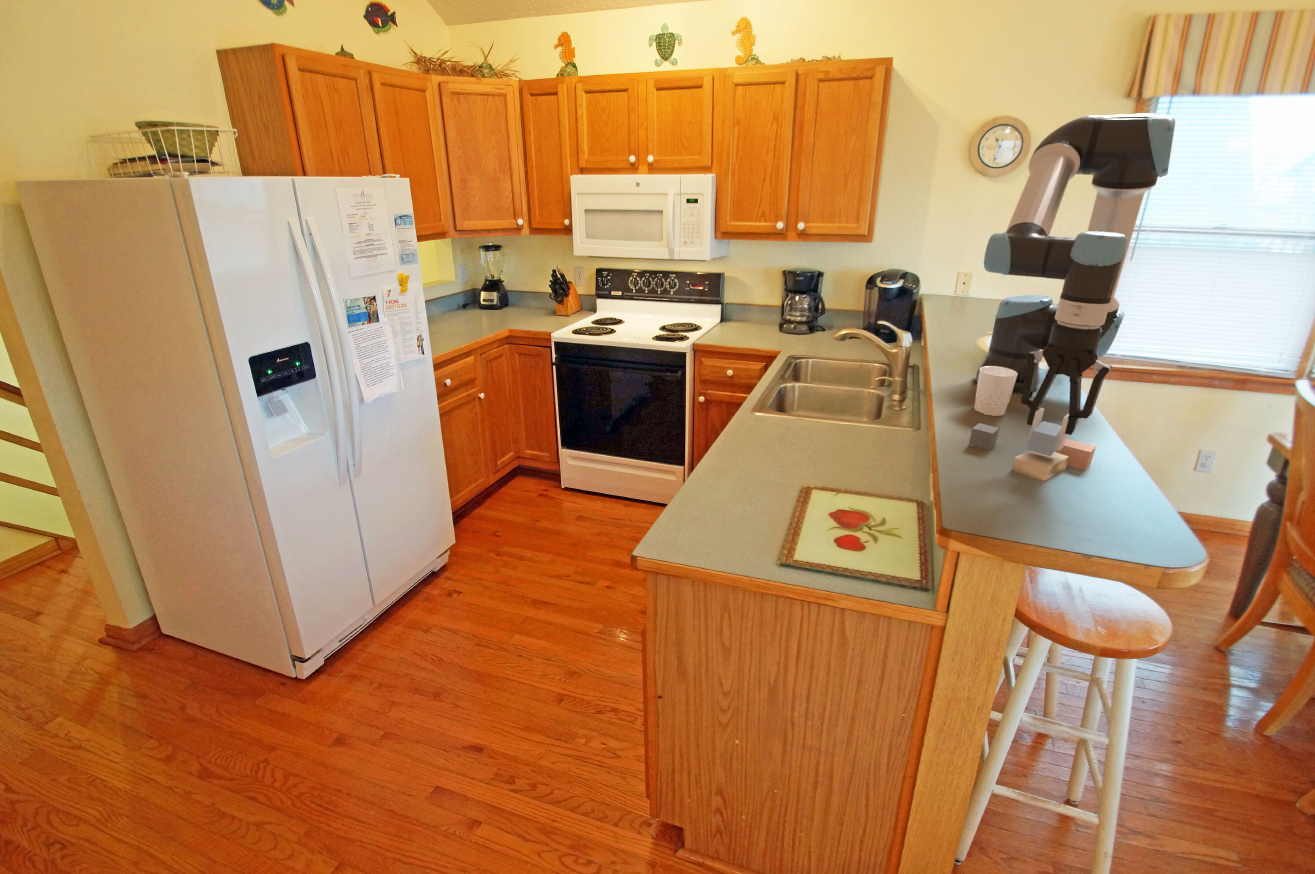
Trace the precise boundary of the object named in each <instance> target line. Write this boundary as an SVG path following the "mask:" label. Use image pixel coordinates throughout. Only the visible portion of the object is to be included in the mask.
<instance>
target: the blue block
mask: <svg viewBox="0 0 1315 874" xmlns="http://www.w3.org/2000/svg"><path fill="white" fill-rule="evenodd" d="M1061 425H1062V424H1061ZM1061 425H1060V424H1056V423H1054V422H1053V423H1052V422H1048V421H1045V420H1043V421H1041V423H1040V424H1039V425H1038V426H1037V427H1036V428H1034V429H1033V430H1032V433H1031V437H1030V440H1029V443H1027V448H1026V451H1028V450H1029V451H1033V452H1036V453H1040V454H1043V455H1047V456H1051V455H1052V454H1053V453H1054V452H1055V451H1056V450H1055V448H1056V444H1057V441H1058V437H1059V434H1060V429H1061Z"/></svg>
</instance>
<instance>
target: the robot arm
mask: <svg viewBox="0 0 1315 874" xmlns="http://www.w3.org/2000/svg"><path fill="white" fill-rule="evenodd" d="M1175 127H1176V119H1175V118H1174V117H1173V116H1172V115H1170V114H1158V113H1157V114H1156V113H1150V112H1149V113H1133V114H1108V115H1097V114H1095V115H1085V116H1081V117H1078V118H1074V119H1073V120H1071V121H1068V122H1066V123H1065V124H1063V125H1061V126H1059V127H1058V128H1057V129H1055V130H1054V131H1052V132H1050V133H1049V134H1048V135H1047V136H1046V137H1045V138H1043V140H1042V141H1041V142H1039V144H1038V146H1037V147H1036V148H1035V150H1034V151H1033V153H1032V155H1031V157H1030V159H1029V163H1028V173H1029V176H1028V178H1027V180H1026V183H1025V185H1024V187H1023V189H1022V192H1021V195H1020V196H1019V199H1018V202H1017V203H1016V204H1017V205H1015V209H1014V211H1013V213H1012V217H1011V219H1010V222H1009V223H1008V226H1007V229H1006V231H1005V232H1002V233H1001V232H1000V233H997V232H995V233H993V234H992V235H990V237H989V239H988V242H987V245H986V248H985V251H984V259H983V268H984V269H985V271H986V272H988V273H992V274H993V273H995V274H1000V275H1003V276H1019V277H1032V278H1045V279H1054V280H1055V279H1056V280H1062V281H1063V280H1064V281H1063V286H1062V290H1061V294H1060V296H1059V300H1058V303H1053V302H1054V300H1053V297H1051V296H1048V295H1039V294H1038V295H1036V294H1035V295H1034V294H1033V295H1032V294H1029V295H1028V294H1025V295H1024V294H1023V295H1015V296H1009V297H1006V298H1004V299H1002V300H1001V301H1000V303H999V304H998V307H997V311H996V314H995V316H994V318H995V321H994V324H993V330H992V334H991V338H990V343H989V347H988V352H987V354H986V355H985V357H984V359H983V360H982V362H981V364H980V365H979V367H978V368H977V370H976V373H975V378H974V380H975V382H976V383H978V378H979V371H980V368H981V367H985V366H997V367H1004V368H1008V369H1011V370H1014V371H1016V372H1017V373H1018V374H1017V377H1016V381H1015V384H1014V388H1013V391H1012V394H1013V393H1014V394H1015V393H1016V394H1021V397H1020V403H1021V404H1022V405H1026V406H1027V407H1028V408H1029V413H1028V416H1027V419H1026V424H1027V425H1029V426H1031V428H1030V432H1029V437H1028V439H1027V444H1029V440H1030V437H1031V433H1032V430H1033V429H1034V428H1036V427H1037V426H1038V425H1039V424H1040V423H1041V422H1042V419H1043V415H1044V411H1045V408H1044V407H1041V406H1042V404H1043V402H1044V400H1045V398H1046V396H1047V394H1048V392H1049V390H1050V389H1051V386H1052V385H1053V383H1054V381H1055V379H1056V377H1057V376H1058V375H1063V376H1066V377H1069V383H1070V384H1069V405H1068V406H1069V408H1068V413H1067V414H1066V415H1064V417H1063V419H1062V422H1061V429H1060V434H1059V437H1058V441H1057V444H1056V448H1055V450H1057V451H1060V450H1061V449H1062V448H1063V446H1064V442H1065V439H1067V435H1070V436H1071V435H1072V434H1073V433H1075V431H1076V427H1077V425H1078V421H1079V419H1088V418H1089V417H1090V416H1091V415H1092V414H1093V411H1094V410H1095V406H1096V403H1097V401H1098V397H1099V395H1100V393H1101V388H1102V385H1103V383H1104V380H1105V377H1106V376H1107V375H1108V374H1109V373H1110V372H1111V371H1112V368H1113V366H1112V365H1111V364H1108V363H1107V364H1105V363H1103V362H1102V361H1100V360H1099V359H1098V358H1102V357H1104V356H1105V355H1106V354H1107V353H1108V352H1109V350H1110V349H1111V347H1112V345H1113V342H1114V341H1115V338H1116V337H1117V334H1118V331H1119V329H1120V327H1121V326H1122V325H1121V324H1122V322H1123V319H1124V316H1125V313H1124V311H1123V310H1122V311H1121V310H1120V308H1119V307H1120V302H1119V301H1118V300H1117V299H1116V297H1115V296H1116V295H1115V294H1116V291H1117V287H1118V284H1119V282H1120V281H1119V280H1120V277H1121V274H1122V271H1123V269H1124V268H1123V267H1124V265H1125V260H1126V258H1127V253H1128V250H1129V246H1130V243H1131V240H1132V237H1133V234H1134V233H1133V232H1134V230H1135V226H1136V223H1137V221H1138V216H1139V214H1140V210H1141V206H1142V203H1143V199H1144V197H1145V193H1147V191H1149V190H1151V189H1152V188H1154V187H1155V186H1156V185H1157V182H1158V178H1163V177H1165V176H1167V175H1168V174H1169V173H1168V172H1169V166H1170V161H1171V155H1172V147H1173V140H1174V133H1175ZM1076 175H1086V176H1088V175H1090V176H1092V181H1091V185H1092V187H1093V188H1094V189H1095V190H1096V196H1095V200H1094V203H1093V208H1092V212H1091V216H1090V219H1089V222H1088V223H1089V224H1088V227H1087V231H1082V232H1080V233H1078V234H1077V235H1076V237H1067V236H1064V237H1063V236H1062V237H1061V236H1052V235H1051V236H1050V234H1051V231H1052V228H1053V225H1054V223H1055V220H1056V218H1057V214H1058V211H1059V209H1060V206H1061V203H1062V201H1063V198H1064V195H1065V192H1066V189H1067V186H1068V184H1069V181H1070V180H1072V179H1073V177H1075V176H1076ZM1042 359H1044V360H1045V363H1046V364H1047V366H1048V370H1047V372H1046V374H1045V376H1044V378H1043V381H1042V383H1041V385H1040V380H1041V379H1040V371H1039V370H1040V369H1039V363H1041V362H1042ZM1092 367H1093V374H1094V375H1095V376H1094V377H1093V379H1092V381H1091V384H1090V387H1089V391H1088V393H1087V397H1086V400H1085V403H1084V405H1083V408H1082V409H1081V401H1082V400H1081V397H1082V380H1083V373H1084V372H1085V371H1087V370H1088V369H1090V368H1092ZM1036 391H1037V392H1036ZM1034 392H1036V394H1035V396H1034V398H1033V394H1034Z"/></svg>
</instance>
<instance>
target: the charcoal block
mask: <svg viewBox="0 0 1315 874" xmlns="http://www.w3.org/2000/svg"><path fill="white" fill-rule="evenodd" d="M999 431H1000V427H996V426H992V425H988V424H986V423H981V422H978V423H977V424H976V425H975V426H973V427H972V429H971V433H970V437H969V443H968V446H969V445H972V446H971V447H973V446H975V447H974V448H976V447H978V448H977V449H980V448H981V449H980V450H983V449H984V451H986V452H989V451H991V450H992V449H993V448H994V447H995V446H996V443H997V439H998V436H999Z"/></svg>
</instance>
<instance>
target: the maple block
mask: <svg viewBox="0 0 1315 874" xmlns="http://www.w3.org/2000/svg"><path fill="white" fill-rule="evenodd" d="M1068 458H1069V456H1066V455H1063V454H1060V453H1057V452H1054V453H1053V454H1052V455H1051V456H1047V455H1043V454H1040V453H1036V452H1033V451H1029V450H1026V451H1025V452H1023V453H1020V454H1019V455H1017V456H1014V459H1013V462H1012V466H1011V471H1014V472H1016V473H1019V474H1022V475H1026V476H1028V477H1031V478H1033V479H1036V480H1039V481H1041V482H1045V481H1047V480H1049V479H1050V478H1052V477H1054V476H1056V475H1057V474H1059V473H1061V472H1063V471H1064V470H1066V469H1067V466H1068V465H1067V462H1068Z"/></svg>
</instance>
